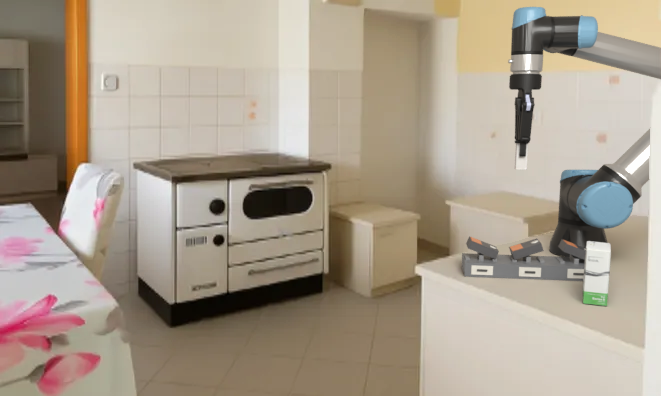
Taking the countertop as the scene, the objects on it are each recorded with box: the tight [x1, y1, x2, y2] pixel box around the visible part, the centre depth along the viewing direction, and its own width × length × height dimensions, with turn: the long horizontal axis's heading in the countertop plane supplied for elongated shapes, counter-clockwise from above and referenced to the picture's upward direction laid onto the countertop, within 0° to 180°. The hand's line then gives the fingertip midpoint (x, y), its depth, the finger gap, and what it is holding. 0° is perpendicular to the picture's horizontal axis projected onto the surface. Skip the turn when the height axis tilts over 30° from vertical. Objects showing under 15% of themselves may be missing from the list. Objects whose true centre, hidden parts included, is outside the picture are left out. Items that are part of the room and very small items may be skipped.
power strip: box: [461, 252, 585, 282], centre depth 152 cm, size 30×9×5 cm, turn 83°
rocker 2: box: [508, 238, 544, 260], centre depth 151 cm, size 7×5×2 cm
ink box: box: [582, 241, 612, 307], centre depth 133 cm, size 9×5×12 cm, turn 158°
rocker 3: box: [558, 239, 586, 260], centre depth 150 cm, size 7×5×2 cm
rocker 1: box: [465, 236, 500, 259], centre depth 153 cm, size 7×5×2 cm
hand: (520, 169), depth 157 cm, fingers closed
